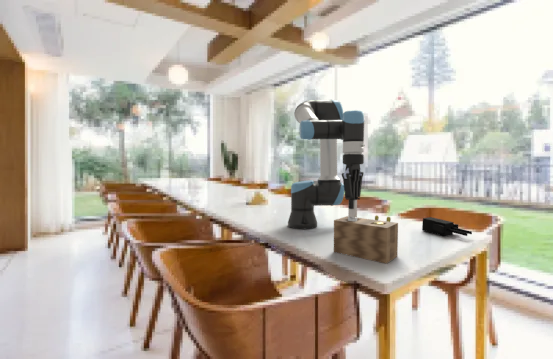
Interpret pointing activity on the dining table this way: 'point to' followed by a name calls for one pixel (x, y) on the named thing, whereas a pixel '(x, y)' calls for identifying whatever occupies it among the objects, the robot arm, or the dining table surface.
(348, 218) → the peg
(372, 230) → the socket block
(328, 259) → the dining table surface
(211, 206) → the dining table surface
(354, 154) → the robot arm
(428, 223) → the black pronged block
